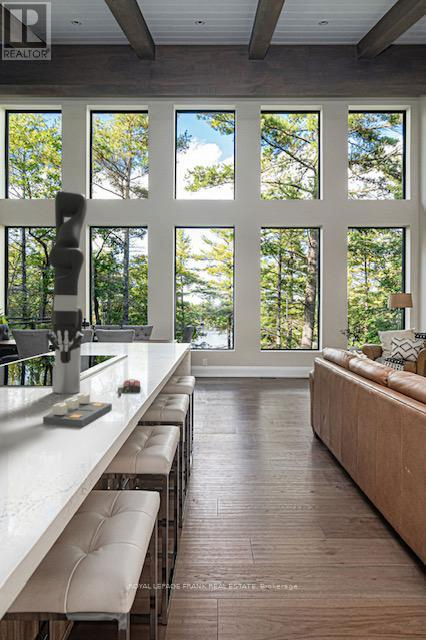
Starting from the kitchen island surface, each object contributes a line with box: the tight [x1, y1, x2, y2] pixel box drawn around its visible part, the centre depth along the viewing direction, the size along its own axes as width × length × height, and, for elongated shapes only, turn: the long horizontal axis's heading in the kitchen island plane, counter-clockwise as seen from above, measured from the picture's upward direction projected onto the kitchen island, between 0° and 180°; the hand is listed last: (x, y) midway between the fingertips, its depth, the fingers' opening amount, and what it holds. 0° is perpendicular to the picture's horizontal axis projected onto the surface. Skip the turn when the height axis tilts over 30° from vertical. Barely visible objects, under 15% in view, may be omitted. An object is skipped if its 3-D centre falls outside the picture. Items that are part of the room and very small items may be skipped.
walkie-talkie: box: [117, 378, 142, 396], centre depth 166 cm, size 9×4×20 cm
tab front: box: [51, 402, 68, 415], centre depth 122 cm, size 3×3×3 cm
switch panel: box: [42, 401, 113, 428], centre depth 129 cm, size 12×20×2 cm, turn 170°
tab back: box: [76, 392, 91, 404], centre depth 136 cm, size 3×3×3 cm
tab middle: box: [64, 396, 79, 409], centre depth 129 cm, size 3×3×3 cm
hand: (65, 362), depth 137 cm, fingers closed
